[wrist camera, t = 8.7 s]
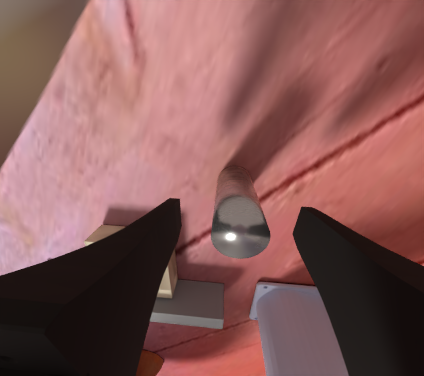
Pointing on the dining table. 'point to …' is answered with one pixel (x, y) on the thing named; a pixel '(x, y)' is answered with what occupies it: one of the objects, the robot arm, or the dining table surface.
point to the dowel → (238, 216)
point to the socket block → (171, 270)
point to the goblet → (149, 364)
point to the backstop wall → (192, 305)
